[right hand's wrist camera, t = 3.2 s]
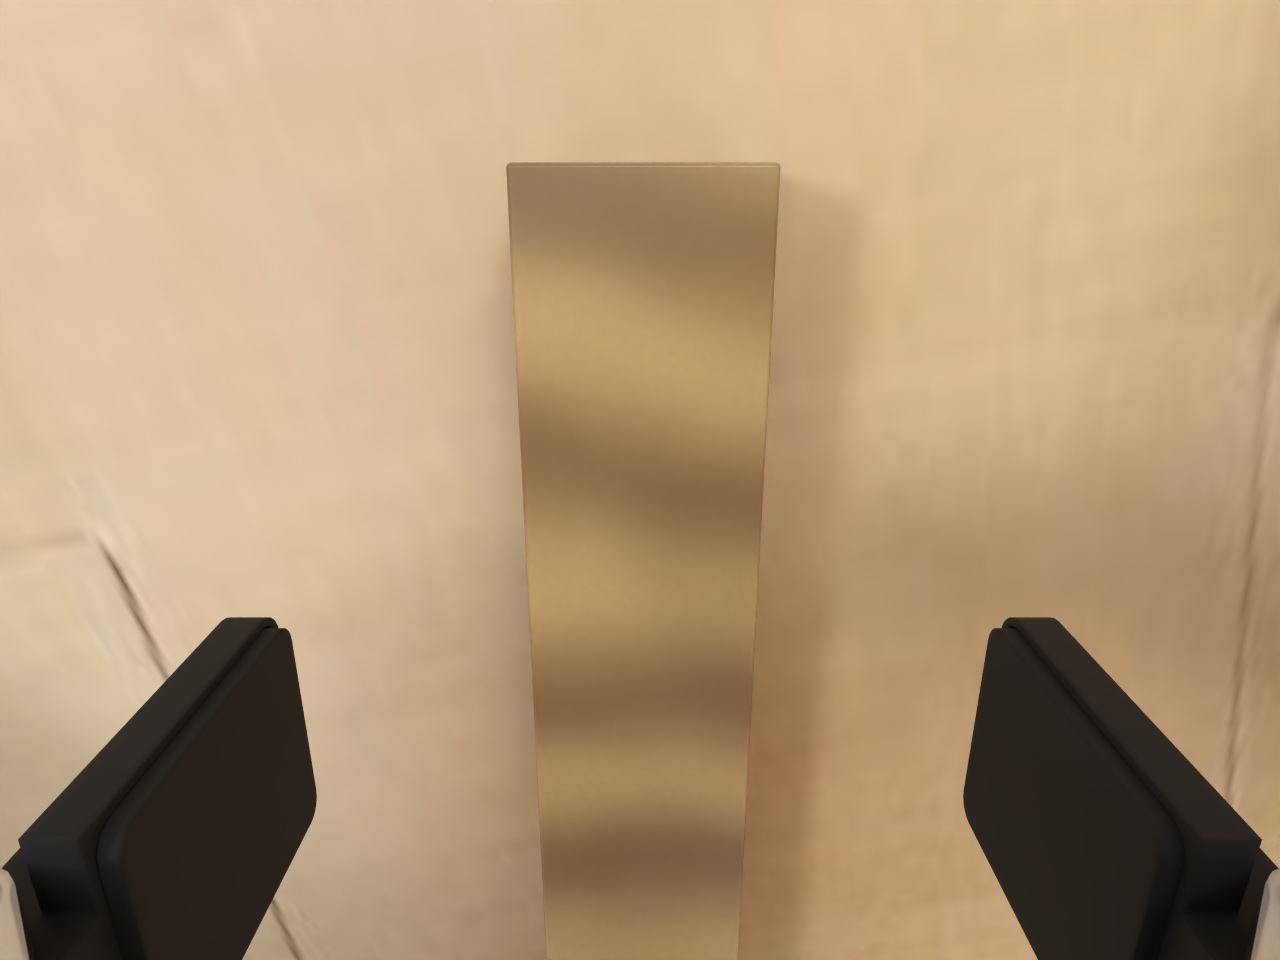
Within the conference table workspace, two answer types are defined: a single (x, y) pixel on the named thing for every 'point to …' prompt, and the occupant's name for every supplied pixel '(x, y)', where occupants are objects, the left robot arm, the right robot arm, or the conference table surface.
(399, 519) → the conference table surface
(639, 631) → the beam
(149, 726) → the right robot arm
